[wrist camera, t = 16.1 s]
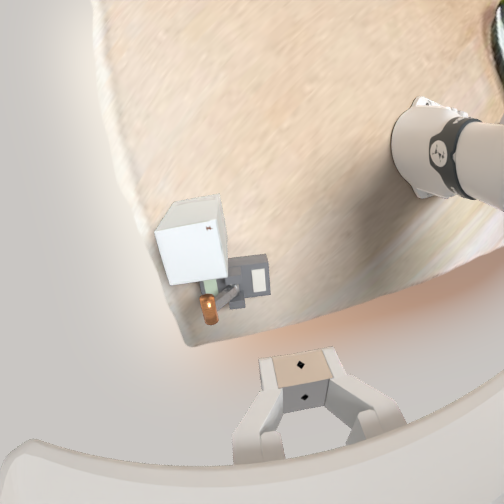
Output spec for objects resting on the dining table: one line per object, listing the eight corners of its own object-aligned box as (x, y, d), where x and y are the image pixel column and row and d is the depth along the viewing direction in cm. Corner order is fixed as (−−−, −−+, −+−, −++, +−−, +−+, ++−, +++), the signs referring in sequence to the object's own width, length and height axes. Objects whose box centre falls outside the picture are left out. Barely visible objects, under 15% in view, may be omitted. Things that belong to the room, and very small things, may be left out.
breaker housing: (265, 253, 45) (271, 270, 40) (268, 285, 48) (273, 304, 42) (198, 261, 44) (195, 279, 39) (204, 292, 47) (202, 312, 42)
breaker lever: (241, 277, 41) (207, 303, 35) (244, 299, 43) (212, 326, 37) (230, 274, 42) (196, 299, 36) (233, 295, 44) (201, 322, 38)
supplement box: (172, 201, 40) (151, 229, 29) (220, 192, 40) (218, 217, 29) (182, 245, 43) (168, 287, 32) (228, 238, 43) (229, 278, 32)
